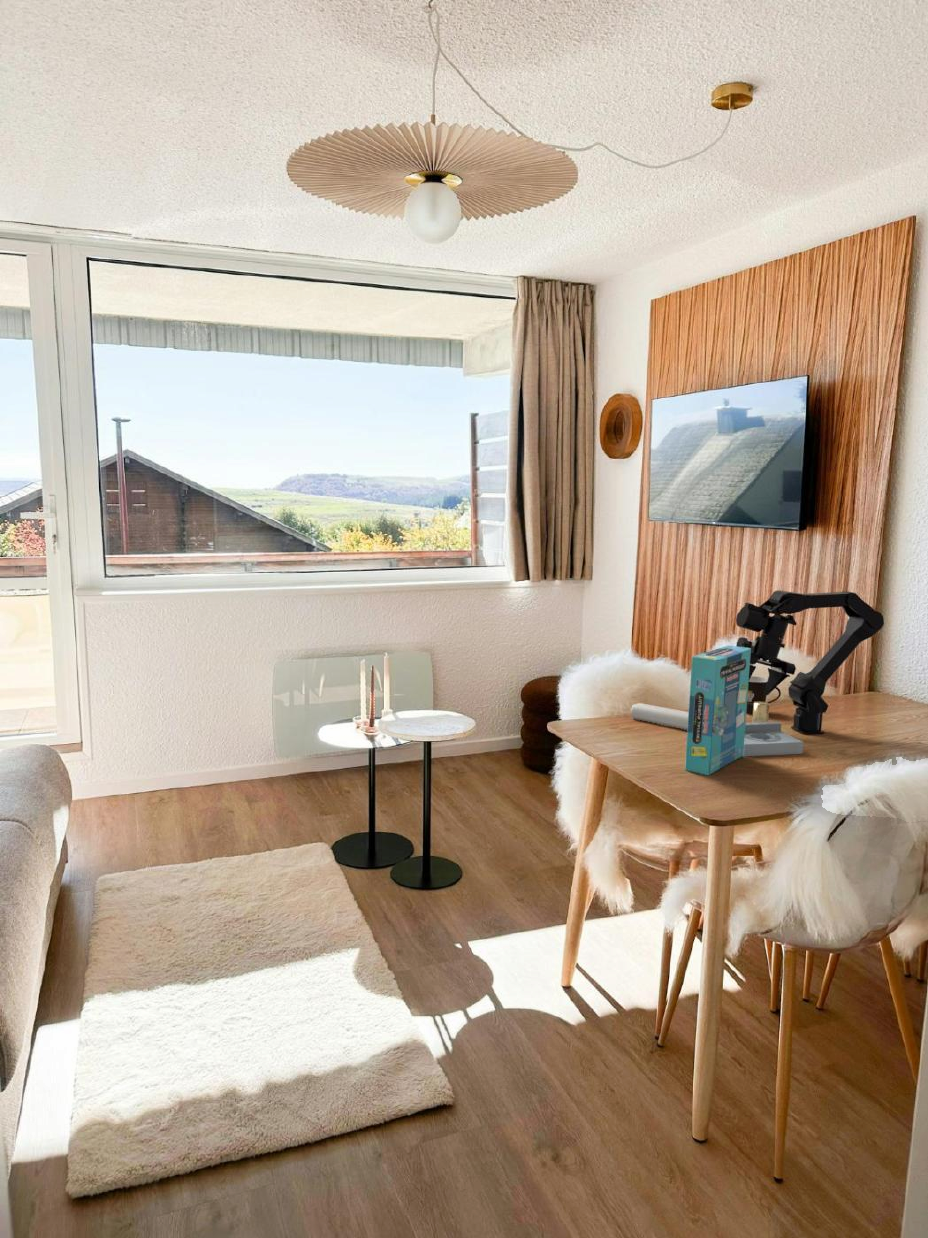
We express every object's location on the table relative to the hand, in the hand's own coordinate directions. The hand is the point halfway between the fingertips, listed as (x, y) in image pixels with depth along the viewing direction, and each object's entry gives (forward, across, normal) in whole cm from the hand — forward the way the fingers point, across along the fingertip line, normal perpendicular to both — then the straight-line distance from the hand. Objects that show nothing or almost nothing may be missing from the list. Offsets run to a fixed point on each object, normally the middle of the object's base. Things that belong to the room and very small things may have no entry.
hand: (753, 691), depth 234 cm
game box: (+17, +25, +19) cm, 35 cm away
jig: (+12, +6, +13) cm, 19 cm away
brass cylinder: (+10, -5, +1) cm, 12 cm away
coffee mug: (+8, -19, -15) cm, 26 cm away
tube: (+16, +13, -12) cm, 24 cm away
